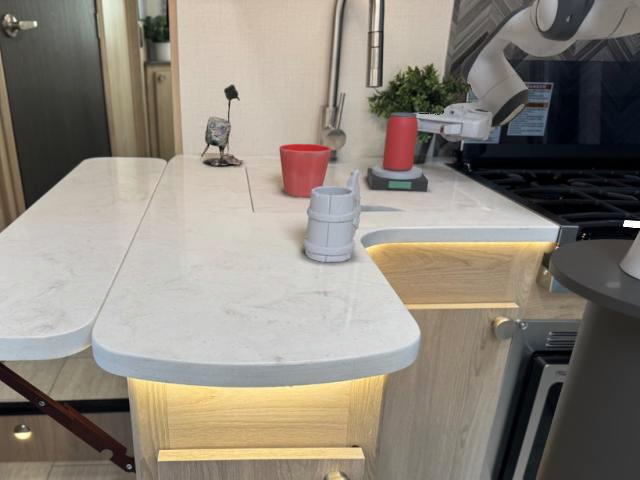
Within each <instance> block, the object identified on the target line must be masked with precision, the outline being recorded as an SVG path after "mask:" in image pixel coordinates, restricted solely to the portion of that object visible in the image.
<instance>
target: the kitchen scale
mask: <svg viewBox="0 0 640 480" xmlns="http://www.w3.org/2000/svg"><path fill="white" fill-rule="evenodd" d="M366 179H367V182H368V185H369V187H370V190H373V191H406V192H427V191H428V185H429V179H428V178H427V177H426V176H425V175H424V173H423V169H422V168H420V167H417V166H413V167H412V169H410V170H408V171H390V170H387V169H385V168H384V167H383V164H379V165H375V166H373V167H367V172H366Z"/></svg>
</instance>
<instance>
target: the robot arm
mask: <svg viewBox="0 0 640 480" xmlns="http://www.w3.org/2000/svg"><path fill="white" fill-rule="evenodd" d="M631 35H637V36H640V0H534V2H533V3H532V4H530V3H525V4H522V5H520V6H519V7H517V8H515V9H513V10H512V11H511V12H509V13H508V14H507V15H506V16H505V17H504V18H503V19H502V20H501V21H500V22H499V23H498V24H497V26H496V27H495V28H494V29H493V30H492V31H491V32H490V33H489V34H488V36H486V38H485V39H484V40H483V41H482V42H481V44H480V45H478V47H477V48H476V49H475V50H473V51H472V52H471V53H470V54H468V55H467V57H466V58H465V59H464V61H463V62H462V64H461V68H460V78H461V79H462V81H463V82H464V83H465V84H466V83H468V84H470V85H471V88H472V90H471V91H472V93H473V94H474V95H475V97H476V98H477V100H478V101H477V100H476V101H477V102H476V101H472V102H459V103H453V104H450V105H447V106H446V107H445V108H444V109H443V110H444V113H443V114H441V113H439V114H440V115H437V114H438V113H434V114H430V113H431V112H428V113H429V114H419V113H420V112H413V113H414V114H417V116H416V117H417V121H418V128H417V132H424V133H431V134H439V135H441V137H442V138H443V139H444V140H446V141H447V142H453V143H455V142H463V141H487V140H488V139H489V137H490V134H491V133H490V132H491V131H492V130H493V129H495V127H499V128H501V127H503V126H506V125H507V124H509V123H510V122H512V121H513V120H514V119H516V118H517V117H518V116H519V115H520V114H521V113H522V112H523V111H524V110H525V108H526V106H527V104H528V101H529V98H530V90H529V88H528V86H527V85H526V84H525V82H524V80H522V78H521V77H520V76H519V75H518V73H517V72H516V70H515V69H514V68H513V66H512V65H511V63H509V61H508V60H507V58H506V56H505V54H504V50H505V49H506V48H507V47H508V46H509V45H510V43H512V44H514V45H515V46H517V48H519V49H521V51H523V52H524V53H526V54H528V55H531V56H532V57H533V56H534V57H541V58H546V57H552V56H556V55H559V54H561V53H563V52H564V51H566V50H567V49H568V48H570V47H571V46H572V45H573V44H574V43H575V42H576V41H593V40H608V39H609V40H610V39H617V38H623V37H626V36H631ZM471 88H470V89H471ZM435 114H436V115H435ZM623 227H629V228H640V221H637V220H636V221H635V220H624V223H623ZM634 240H635V241H634V243H633V244H632V246H631V248H630V249H629V251H628V253H627V254H626V255H625V257H624V258H623V260H622V261H621V262H620V267H621V269H622V270H623V271H625V272H626V273H628V274H629V275H631V276H633V277H635V278H637V279H640V230H639V231H638V233H637V235H636V238H635V239H634Z"/></svg>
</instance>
